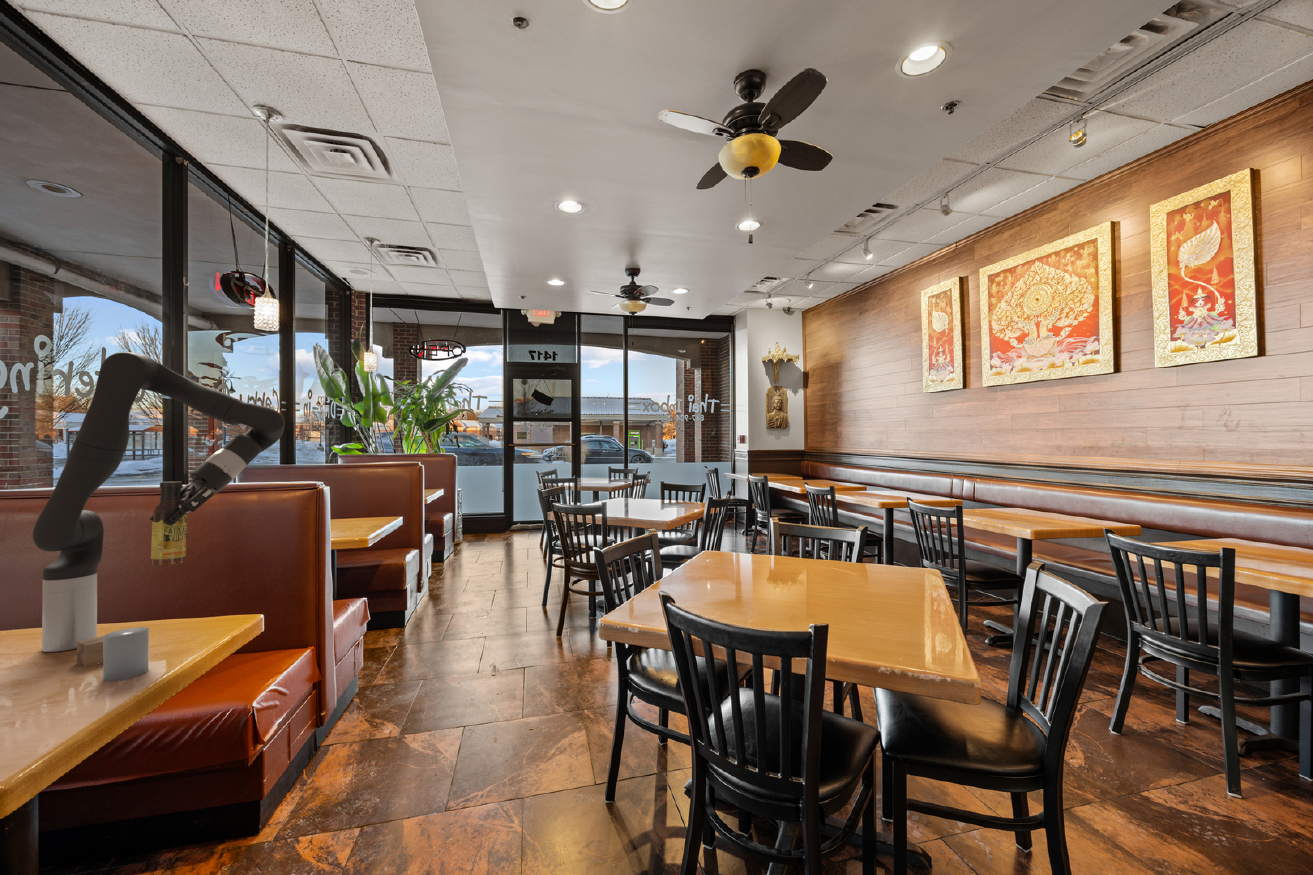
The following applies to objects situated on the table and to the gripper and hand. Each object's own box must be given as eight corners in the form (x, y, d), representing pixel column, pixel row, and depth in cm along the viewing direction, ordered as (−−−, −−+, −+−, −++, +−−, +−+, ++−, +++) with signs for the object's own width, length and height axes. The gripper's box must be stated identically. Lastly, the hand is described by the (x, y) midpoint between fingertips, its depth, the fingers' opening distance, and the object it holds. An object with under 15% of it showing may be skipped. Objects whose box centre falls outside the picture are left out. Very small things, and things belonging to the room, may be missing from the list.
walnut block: (76, 663, 123) (77, 641, 123) (107, 656, 127) (107, 634, 127) (85, 667, 120) (85, 645, 121) (115, 659, 125) (115, 638, 125)
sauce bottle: (164, 568, 126) (164, 482, 126) (143, 567, 127) (143, 482, 127) (194, 562, 132) (193, 480, 132) (173, 561, 133) (173, 480, 134)
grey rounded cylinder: (97, 677, 115) (97, 635, 115) (140, 665, 121) (140, 625, 121) (110, 684, 112) (111, 640, 112) (154, 671, 118) (154, 629, 118)
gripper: (192, 460, 140) (132, 511, 129) (221, 460, 133) (159, 514, 122) (217, 479, 144) (160, 530, 134) (245, 480, 138) (188, 534, 127)
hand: (160, 522), depth 128 cm, fingers closed on sauce bottle, 6 cm apart
